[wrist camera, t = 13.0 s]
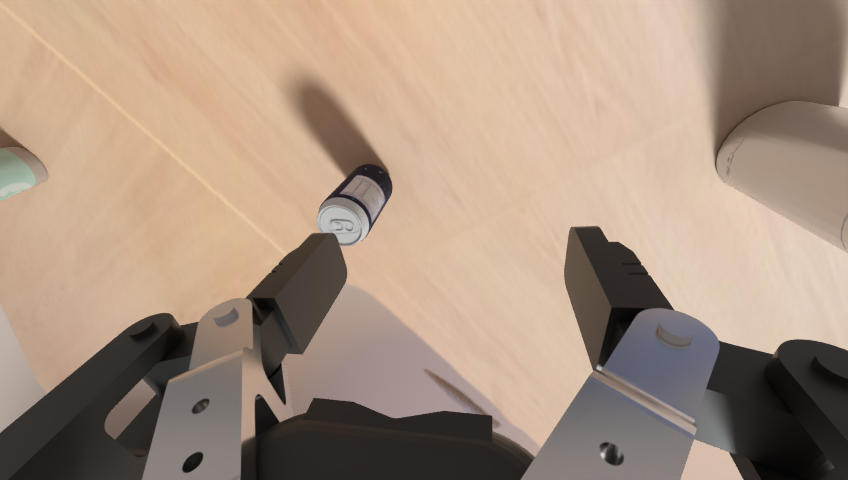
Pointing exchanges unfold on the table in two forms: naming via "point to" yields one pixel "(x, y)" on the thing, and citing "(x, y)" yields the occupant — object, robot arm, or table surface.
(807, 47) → the table surface
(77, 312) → the table surface
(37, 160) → the coffee cup
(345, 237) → the beverage can
